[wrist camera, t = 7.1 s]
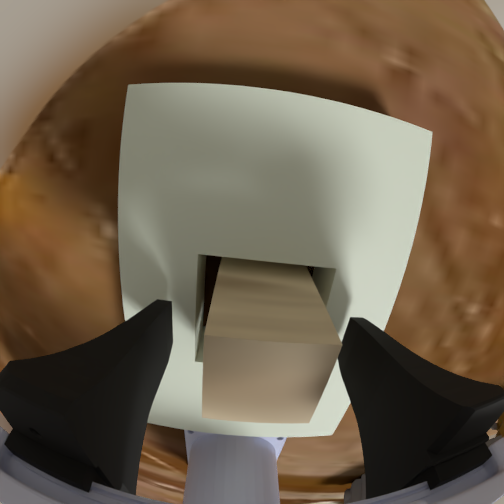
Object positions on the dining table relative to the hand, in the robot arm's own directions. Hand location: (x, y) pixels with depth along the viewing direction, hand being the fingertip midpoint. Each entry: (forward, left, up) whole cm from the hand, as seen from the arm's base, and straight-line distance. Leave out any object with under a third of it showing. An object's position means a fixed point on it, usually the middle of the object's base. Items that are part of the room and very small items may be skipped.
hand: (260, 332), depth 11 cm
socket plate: (0, 0, -4) cm, 4 cm away
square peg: (0, 0, -4) cm, 4 cm away
